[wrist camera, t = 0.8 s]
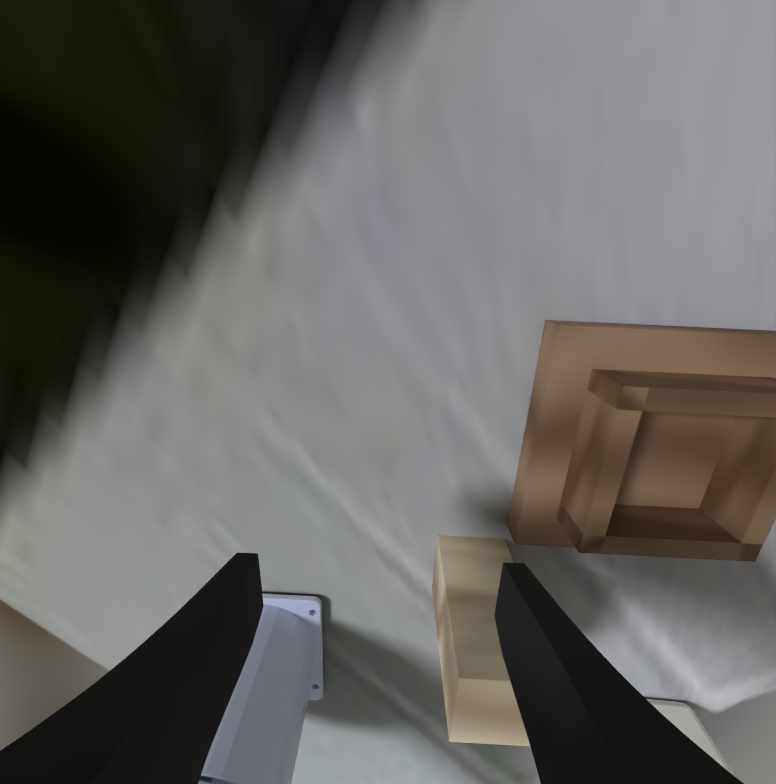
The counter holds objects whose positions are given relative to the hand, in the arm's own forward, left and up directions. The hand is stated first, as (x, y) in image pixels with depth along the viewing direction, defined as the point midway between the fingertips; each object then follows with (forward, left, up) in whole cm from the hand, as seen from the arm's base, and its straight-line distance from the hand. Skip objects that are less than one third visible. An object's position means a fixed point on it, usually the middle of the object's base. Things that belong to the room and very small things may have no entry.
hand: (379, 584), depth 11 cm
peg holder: (+1, -13, -10) cm, 16 cm away
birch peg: (-8, -5, -10) cm, 14 cm away
